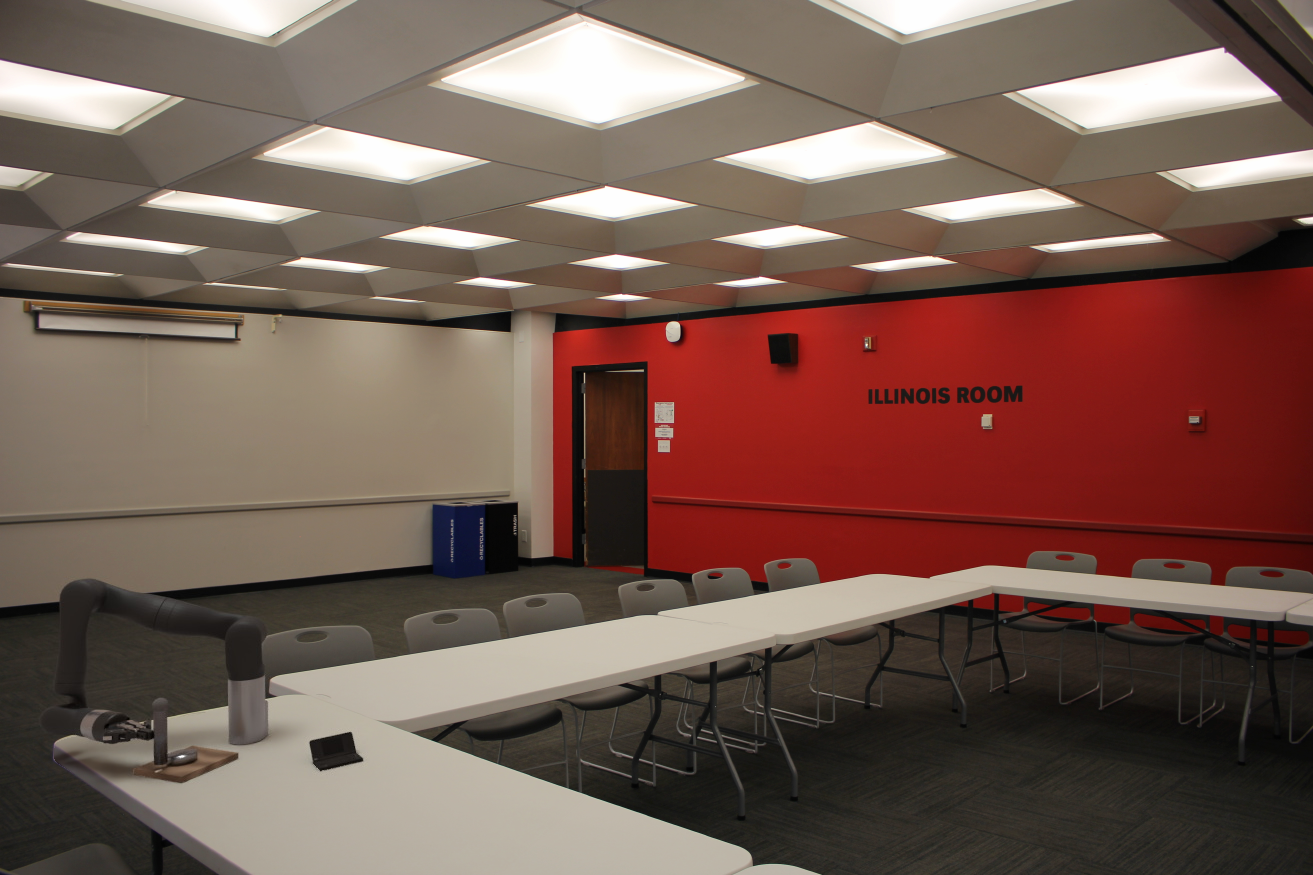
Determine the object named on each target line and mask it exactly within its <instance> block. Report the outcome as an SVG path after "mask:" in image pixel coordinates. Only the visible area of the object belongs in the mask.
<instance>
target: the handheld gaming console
mask: <svg viewBox="0 0 1313 875" xmlns="http://www.w3.org/2000/svg"><path fill="white" fill-rule="evenodd" d="M308 745H309V749H310V753H311V759H312V765H313V764H314V765H315V766H316V767H315V766H314V765H313V766H314V767H315V768H316V769H317V768H318V769H319V770H320V771H319V770H318V769H317V770H318V771H319V772H323V771H322V770H324V771H327V769H328V770H331V768H332V769H336V768H340V766H341V767H345V766H349V765H353V764H357V763H361V762H364V757H362V755H360V754H359V753H357V748H356V744H355V739H354V735H353V732H352V731H348V732H343V733H339V734H332V735H329V736H325V737H320V738H316V739H311V740H309V742H308ZM344 765H345V766H344Z"/></svg>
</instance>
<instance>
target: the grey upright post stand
mask: <svg viewBox="0 0 1313 875" xmlns="http://www.w3.org/2000/svg"><path fill="white" fill-rule="evenodd" d="M168 708H169V700H167V698H164V697H158V698H156V699H155V700H153V701H152V703H151V709H152V713H153V714H152V716H153V717H152V718H153V720H152V722H153V726H152V728H153V729H152V730H153V738H154V739H153V761H154V765H166V764H170V765H178V764H184V763H188V762H191V761H194V760H196V759H197V757H198V752H197V750H196V749H185V748H182V749H178V750H173V751H171V752H168V751H169V750H168V749H169V747H168Z"/></svg>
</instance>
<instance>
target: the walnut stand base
mask: <svg viewBox="0 0 1313 875" xmlns="http://www.w3.org/2000/svg"><path fill="white" fill-rule="evenodd" d="M184 749H196V750H197V752H198V757H197V759H196V760H194V761H191V762H188V763H184V764H178V765H170V764H166V765H154V760H152V761H150V762H148V763H145V764H142V765H138V766H137V767H134V768H133V776H138V777H144V776H145V777H144V778H150V777H151V779H157V780H162V781H167V780H168V782H174V783H180V784H182V783H185V782H188V781H189V780H192V779H194V778H196V776H197V777H199V776H201V775H204V774H206V773H208V772H210V771H213V770H215V769H218V768H219V767H222V766H224V764H225V765H226V764H229V763H231V762H233V761H236V760H238V759H239V752H235V751H229V750H223V749H218V748H217V749H216V748H210V747H203V746H197V745H191V746H188V747H185V748H184Z"/></svg>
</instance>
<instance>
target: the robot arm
mask: <svg viewBox="0 0 1313 875" xmlns="http://www.w3.org/2000/svg"><path fill="white" fill-rule="evenodd" d="M94 613H95V614H101V615H102V614H103V615H107V616H113V617H119V618H122V619H125V620H127V621H129V622H131V623H133V624H134V625H137V626H139V627H140V628H141V627H142V628H144V629H147V630H150V631H152V632H153V631H154V632H157V633H162V634H166V635H170V636H178V637H206V638H207V637H209V638H215V639H217V640H221V641H224V658H225V669H226V672H227V694H228V696H227V699H228V703H227V704H228V715H227V717H228V721H227V722H228V743H229V744H231V745H249V744H252V743H253V744H254V743H257V742H259V741H261V740H264V739H265V738H266V736H269V701H268V700H266V668H265V666H266V665H265V664H264V662H263V650H262V649H263V646H262V644H263V643H264V641H265V640H266V639H267V636H268V627H267V626H266V624H265V622H264V621H263V620H261V619H260V618H258V617H256V616H252V615H246V614H245V615H243V614H235V613H230V612H223V611H218V610H215V609H212V608H208V607H205V606H201V605H197V604H194V603H190V602H186V601H184V600H181V599H175V598H171V597H166V596H161V595H156V594H151V593H145V592H137V591H132V590H128V589H125V588H121V587H119V586H116V585H113V584H111V583H107V582H104V581H102V580H100V579H96V578H89V577H88V578H82V579H81V578H80V579H75V580H73V581H70V582H68V583H67V584H66V585H64V586H63V588H62V589H61V591H60V594H59V624H60V625H59V645H58V655H57V660H56V661H57V662H56V668H55V672H54V673H55V674H54V680H53V685H52V686H53V687H52V689H53V691H52V692H53V693H54V694H55V695H57V696H62V697H63V696H64V697H67V699H68V703H64V704H63V703H62V704H56V705H51V706H48V707H47V708H45V710H43V711H42V713H41V714H40V716H39V720H38V721H39V722H38V723H39V726H40V728H41V730H42V731H43V732H44V733H46V734H49V735H53V736H54V735H56V736H78V737H81V738H86V739H89V740H90V741H95V742H98V743H99V742H100V743H103V744H109V745H115V744H118V743H128V742H131V741H132V740H134V741H137V740H142V741H146V742H148V741H152V740H154V738H153V729H152V728H153V726H152V722H153V720H152V718H147V719H146V720H144V721H143V722H140V721H138V720H132V719H131V718H130V717H129V715H128V714H126V713H123V712H118V711H113V710H107V709H97V708H91V707H89V705H88V699H87V692H86V683H87V677H88V670H89V669H88V668H89V650H88V649H89V648H88V639H87V638H88V629H89V628H88V627H89V622H90V620H91V616H92V614H94Z"/></svg>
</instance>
